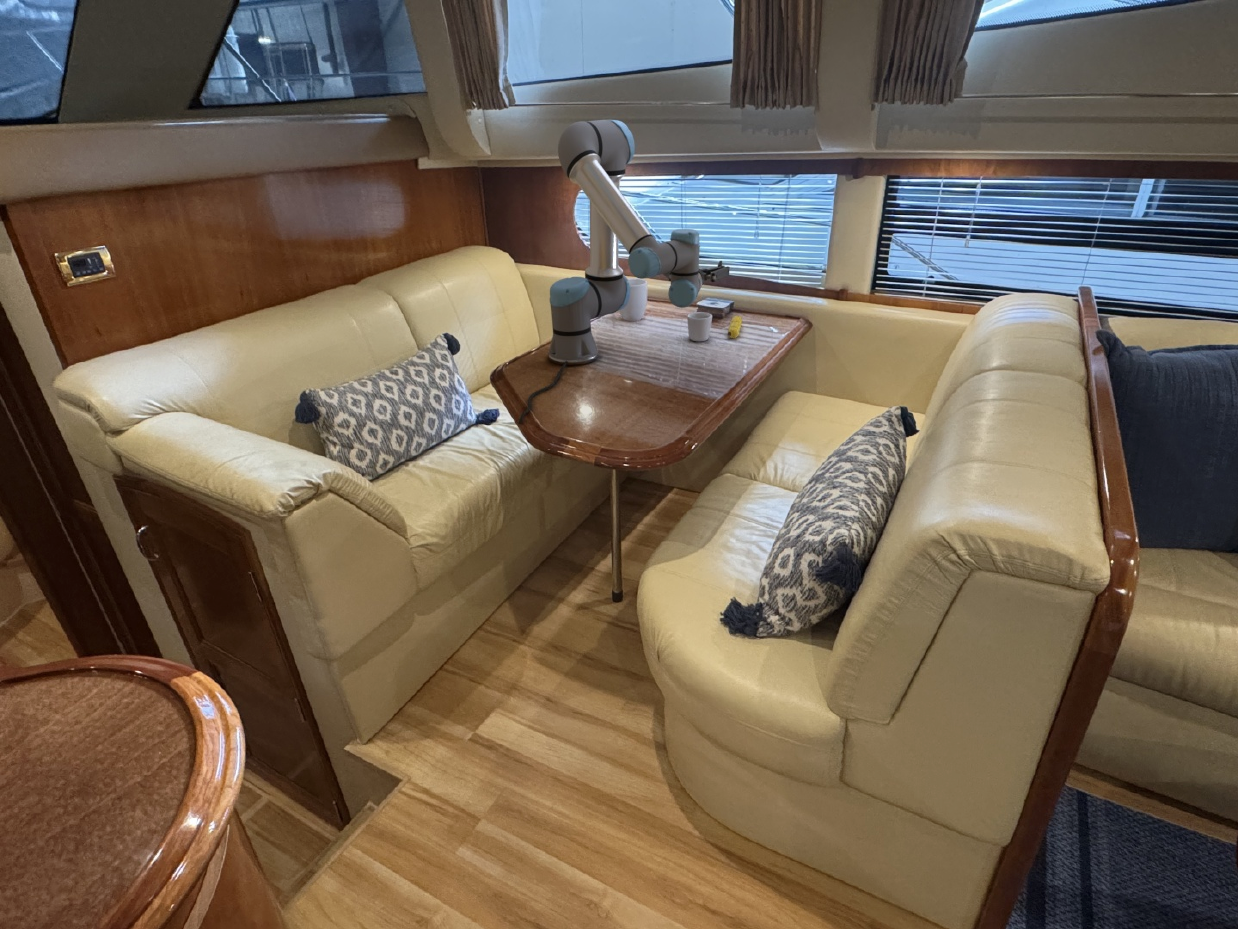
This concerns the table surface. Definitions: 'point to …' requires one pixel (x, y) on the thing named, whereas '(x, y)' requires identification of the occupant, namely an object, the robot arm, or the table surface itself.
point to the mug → (635, 300)
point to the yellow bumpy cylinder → (734, 327)
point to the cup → (699, 325)
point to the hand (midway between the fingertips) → (698, 264)
